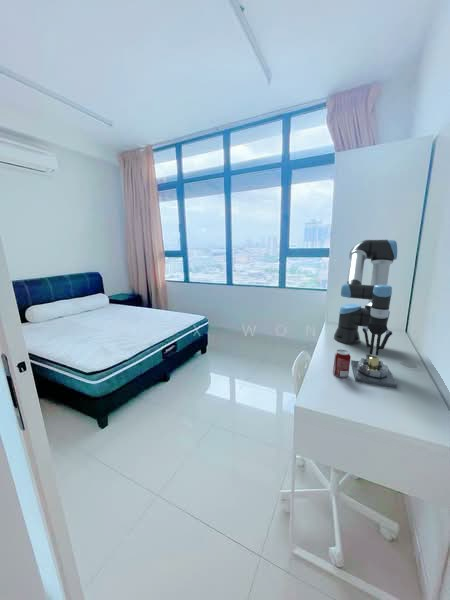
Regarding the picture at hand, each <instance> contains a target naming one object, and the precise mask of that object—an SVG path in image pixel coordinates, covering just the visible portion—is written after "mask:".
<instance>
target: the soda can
mask: <svg viewBox="0 0 450 600" xmlns="http://www.w3.org/2000/svg"><path fill="white" fill-rule="evenodd" d="M350 366H351V355H350V352H349V351H348V350H346V349H341V348H340V349H336V352H335V353H334V358H333V366H332V374H333V375H335V376H336V377H338V378H347V377H348V376H349V374H350V373H349V371H350Z"/></svg>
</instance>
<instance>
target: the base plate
mask: <svg viewBox="0 0 450 600" xmlns="http://www.w3.org/2000/svg"><path fill="white" fill-rule="evenodd" d="M359 361H360V360H352V359H350V366H351V369H352V373H353V378H354V380H355V381H354V382H356V383H363V384H367V385H373V386H379V387H386V388H388V389H389V388H390V389H397V387H398V383H397V382H396V380H395V378H394V376H393V375H392V372H391V371H390V369H389V366H388V365H386V364H385V365H386V366H387V368H388V370H389V371H388V375H387V376H384V377H374V376H369V375H366V374H364V373H363V372H361V371H360V370H359V369H358V362H359ZM379 361H380V358H379V357H378V356H376V355H375V356H372V355H371V356H369V362H368V366H369V367H368V368H369V369H373V370H380V369H378V362H379Z"/></svg>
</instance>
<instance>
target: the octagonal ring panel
mask: <svg viewBox="0 0 450 600" xmlns="http://www.w3.org/2000/svg"><path fill="white" fill-rule="evenodd" d="M365 355H366V356H365V358H364V357H363V358H361V359H360V360H358V361H359V362H358V369H359V370H360V371H361V372H363V373H364V374H366V375H369V376H374V377H384V376H387V375H388V371H390V369H389V367H388V365H387V366H386V364H384V361H382V360H379V362H378V369H380V370H373V369H369V368H368V367H369V366H368V362H369V356H372V355H371V354H370V353H369V354H368V353H367V354H365ZM387 367H388V368H387ZM388 369H389V370H388Z"/></svg>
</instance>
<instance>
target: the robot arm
mask: <svg viewBox="0 0 450 600" xmlns="http://www.w3.org/2000/svg"><path fill="white" fill-rule="evenodd" d="M348 256H349V257H348V259H349V260H350V261H349V267H348V271H347V272H348V273H347V277H346V282H345V283H344V282H343V283H342V285H341V289H340V296H341V297H343V298H347V299H362V300H368V302H367V303H366V304H365V305H364V307H362V305H360V304H356V303H353V304H352V303H350V304H349V303H347V304H343V305H341V306H340V308H339V312H338V313H339V316H338V323H337V324H338V326H337V329H336V330H335V333H334V335H333V339H334V340H335V341H337V342H340V343H342V344H348V345H356V344H357V345H358V344H359V343H360V340H361V336H360V331H359V327H361V328H362V332H363V334H364V338H365V339H364V340H365V345H366V348H369V354H370V355H371V356H375V357H378V356H379V351H380V350H384V348H385V346H386V344H387V342H388V340H389V338H390V337H391V336H392V335H393V331H392V330H389V328H388V321H389V318H390V314H391V311H390V305H391V299H392V298H391V297H392V295H393V287H392V286H391V285H389V284H388V282H389V281H388V280H389V276H390V275H389V273H390V266H391V264H393V263H394V260H397V258H398V243H397V240H395V239H364V240H362V241H359V242H358V243H357V244H355V245H354V246H353V247H352V248H351V250H350V252H349V255H348ZM366 260H370V263H371V264H372V272H371V279H370V285H369V284H363V275H364V266H365V261H366ZM368 330H369V331H368ZM368 332H370V333H371V338H370V339H371V340H370V342H369V334H368ZM383 334H385V335H384V338H383V340H382V342H381V338H382V336H383ZM376 336H377V339H376V346H375V347H374V345H375V344H374V343H375V338H376Z"/></svg>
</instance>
